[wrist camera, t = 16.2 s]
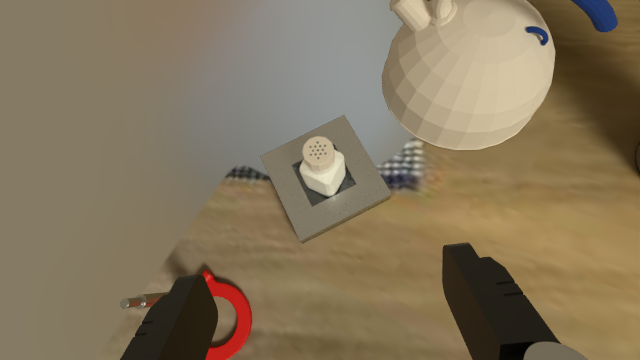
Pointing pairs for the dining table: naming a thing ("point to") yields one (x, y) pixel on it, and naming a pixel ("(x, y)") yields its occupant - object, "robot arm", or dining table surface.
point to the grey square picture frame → (315, 208)
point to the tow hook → (227, 291)
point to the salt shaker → (322, 166)
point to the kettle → (472, 67)
